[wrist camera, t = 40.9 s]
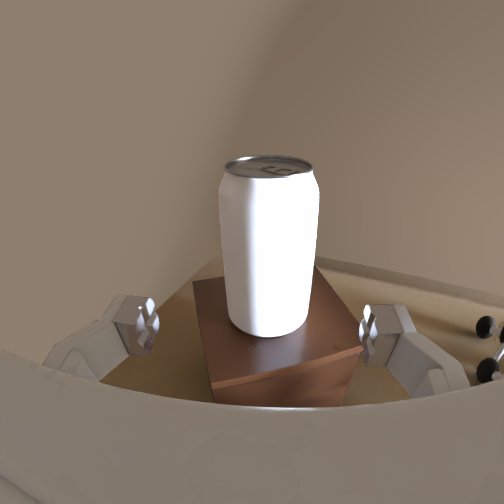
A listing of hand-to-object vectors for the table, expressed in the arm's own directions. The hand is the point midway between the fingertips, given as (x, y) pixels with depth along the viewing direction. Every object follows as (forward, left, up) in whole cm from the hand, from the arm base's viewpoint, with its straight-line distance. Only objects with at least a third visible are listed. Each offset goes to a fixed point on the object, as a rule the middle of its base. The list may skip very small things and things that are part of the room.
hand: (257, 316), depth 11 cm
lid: (-8, +7, -10) cm, 14 cm away
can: (-8, +6, -9) cm, 13 cm away
